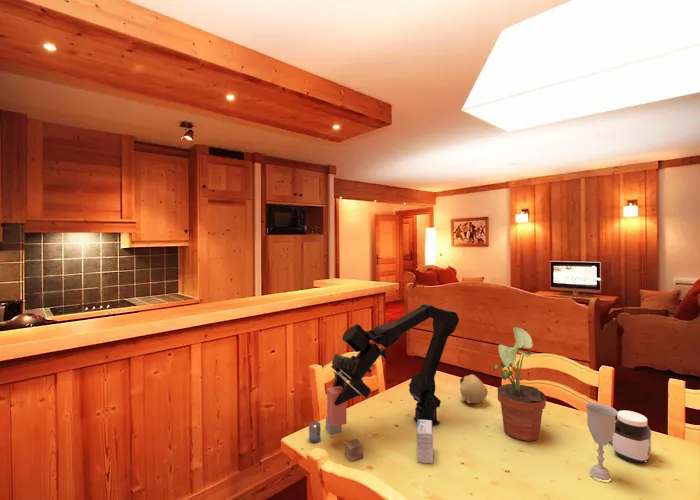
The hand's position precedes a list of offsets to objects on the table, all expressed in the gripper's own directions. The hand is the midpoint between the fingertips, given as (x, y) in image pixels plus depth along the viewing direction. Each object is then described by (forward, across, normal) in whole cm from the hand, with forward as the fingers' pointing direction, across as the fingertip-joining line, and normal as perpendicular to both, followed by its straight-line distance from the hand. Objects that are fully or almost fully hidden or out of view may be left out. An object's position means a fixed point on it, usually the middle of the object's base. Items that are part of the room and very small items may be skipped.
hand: (332, 401), depth 111 cm
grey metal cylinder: (+12, -5, +7) cm, 15 cm away
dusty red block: (+4, 0, +6) cm, 7 cm away
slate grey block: (+7, -8, +12) cm, 16 cm away
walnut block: (+7, +8, +12) cm, 16 cm away
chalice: (-32, +43, +51) cm, 74 cm away
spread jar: (-44, +39, +64) cm, 87 cm away
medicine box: (-6, +16, +26) cm, 31 cm away
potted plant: (-30, +19, +50) cm, 61 cm away
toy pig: (-32, -5, +52) cm, 61 cm away
